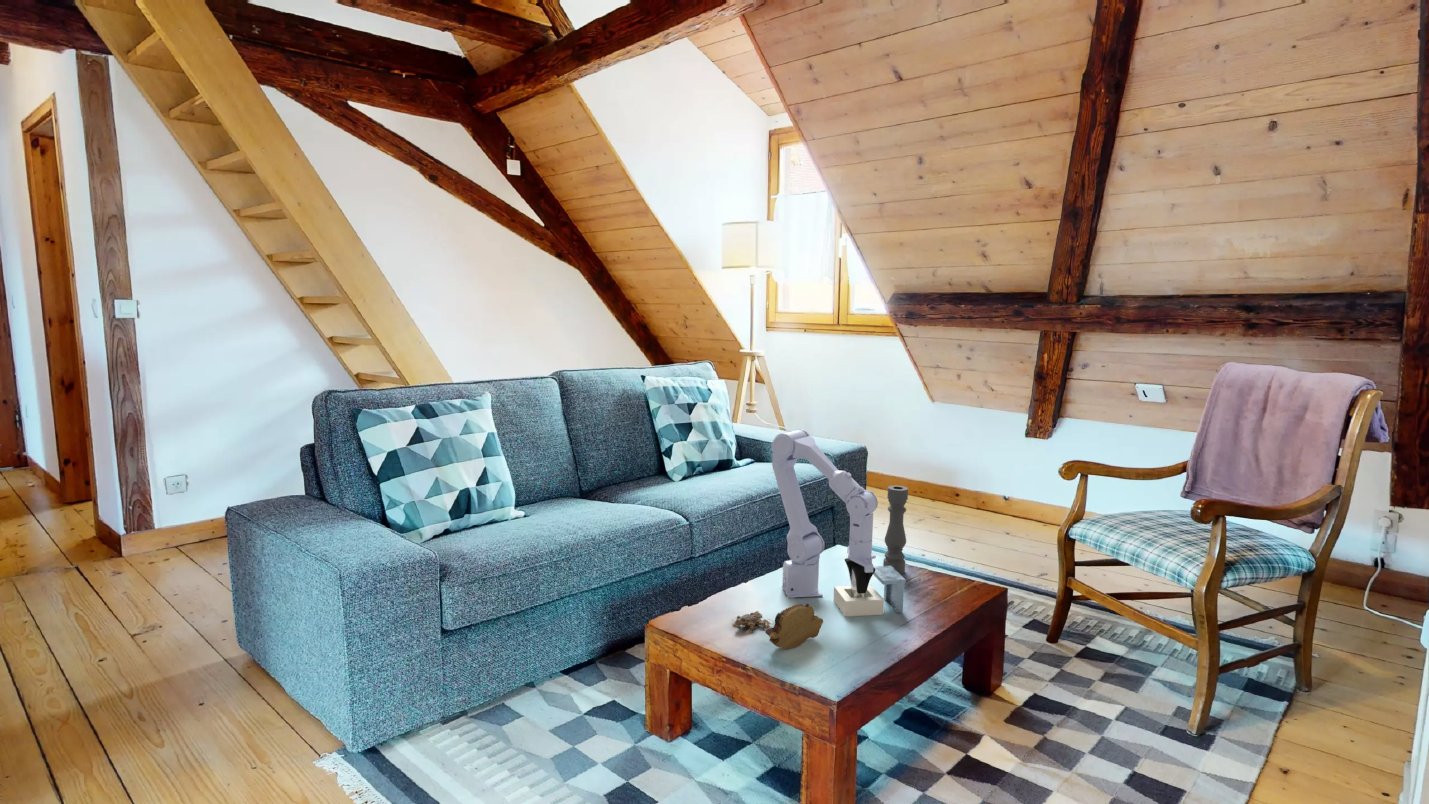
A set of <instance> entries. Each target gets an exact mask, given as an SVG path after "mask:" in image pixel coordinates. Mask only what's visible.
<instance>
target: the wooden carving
mask: <svg viewBox="0 0 1429 804" xmlns="http://www.w3.org/2000/svg"><path fill="white" fill-rule="evenodd" d="M823 623H824V619H823V618H821V617H819V616H817V615H815V609H814V606H813V605H811V604H809V603H805V604H801V603H800V604H798V603H796V604H793V605H791V606H788V607H787V608H784V609H783V610H781V612H777V614H776V616H775V618H774V625H773V626H772V627H770V628H768V629H765V632H764V633H765V634H766V635H767V636H768V637H769V642H770V643H772V645H774V646H775V647H777V648H780V649H784V650H785V649H786V650H790V649H794V648H795V649H796V648H798V647H800V646H801V645H802V644H804V643H805V642H806V641H808V639H814V638H816V637H818V636H819V634H820V629H822V625H823Z"/></svg>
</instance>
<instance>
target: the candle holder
mask: <svg viewBox="0 0 1429 804" xmlns="http://www.w3.org/2000/svg"><path fill="white" fill-rule="evenodd" d="M908 496H909V487H907V486H904V485H890V486H888V487H887V499H888V504H889V506H888V507H887V511H888V512H889V522H888V526H887V530H886V533H885V536H884V543H885V545H886V547H887V548H886V549H887V551H886V552H885V553H884V558H883V563H882V566H892V567H893V568H894V569H895V570H896V571H897V572H898V573H899V574H900V575H901V576H903V575H904V574H905V573H906V560H905V557H906V556H905V554H904V553H903V550H904V547H905V545H906V543H907V536H906V531H905V526H904V515H905V513H906V511H907V508H906V507H905V505H906V503H907V501H908V499H909V498H908Z"/></svg>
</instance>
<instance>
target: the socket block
mask: <svg viewBox="0 0 1429 804" xmlns="http://www.w3.org/2000/svg"><path fill="white" fill-rule="evenodd" d="M833 602H834V604H835V605H836V604H837V605H836V606H837V608H838V609H839V608H840V609H839V610H840V611H841V613H842V612H843V613H842V614H843V616H844V617H857V616H858V617H859V616H860V617H861V616H863V617H865V616H877V615H878V616H881V615H883V616H884V609H885V608H884V607H885V606H884V605H885V604H884V603H885V600H884V597H882V596H881V594H879V592H878V591H877V590H876V589H875V588H874V587H873V586H872V584H868V588H867V597H860V598H851V585H841V586H840V585H837V586H833Z"/></svg>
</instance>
